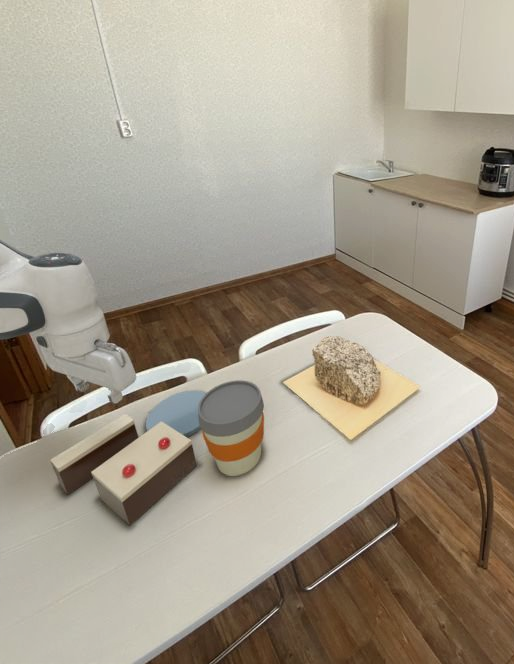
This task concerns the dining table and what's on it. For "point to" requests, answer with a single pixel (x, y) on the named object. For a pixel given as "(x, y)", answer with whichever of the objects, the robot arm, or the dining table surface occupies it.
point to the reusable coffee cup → (233, 425)
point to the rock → (349, 385)
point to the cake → (144, 471)
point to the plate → (177, 412)
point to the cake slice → (93, 453)
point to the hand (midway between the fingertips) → (99, 395)
